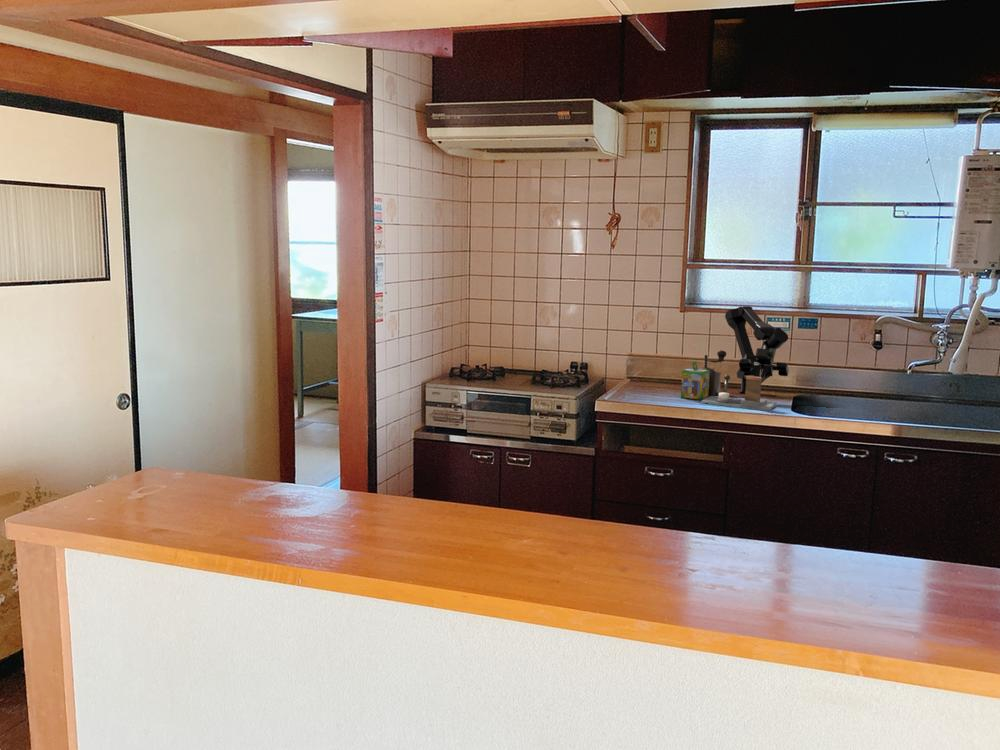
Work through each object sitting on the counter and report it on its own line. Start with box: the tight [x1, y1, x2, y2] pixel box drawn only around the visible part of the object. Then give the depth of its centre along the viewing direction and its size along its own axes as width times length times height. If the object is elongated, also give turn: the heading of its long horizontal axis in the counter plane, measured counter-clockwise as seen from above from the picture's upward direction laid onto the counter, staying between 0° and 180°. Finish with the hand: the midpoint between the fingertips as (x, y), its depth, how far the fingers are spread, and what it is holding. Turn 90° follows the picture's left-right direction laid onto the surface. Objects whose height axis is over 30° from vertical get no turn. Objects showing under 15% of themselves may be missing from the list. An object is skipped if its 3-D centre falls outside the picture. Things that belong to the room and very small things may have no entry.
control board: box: [700, 391, 778, 412], centre depth 334 cm, size 14×26×4 cm, turn 60°
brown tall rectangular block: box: [744, 375, 762, 403], centre depth 328 cm, size 3×5×11 cm, turn 60°
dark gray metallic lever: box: [722, 374, 731, 393], centre depth 340 cm, size 2×2×8 cm
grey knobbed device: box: [699, 350, 727, 396], centre depth 358 cm, size 16×11×18 cm
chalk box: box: [680, 361, 710, 401], centre depth 347 cm, size 9×9×15 cm
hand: (758, 384), depth 336 cm, fingers closed
